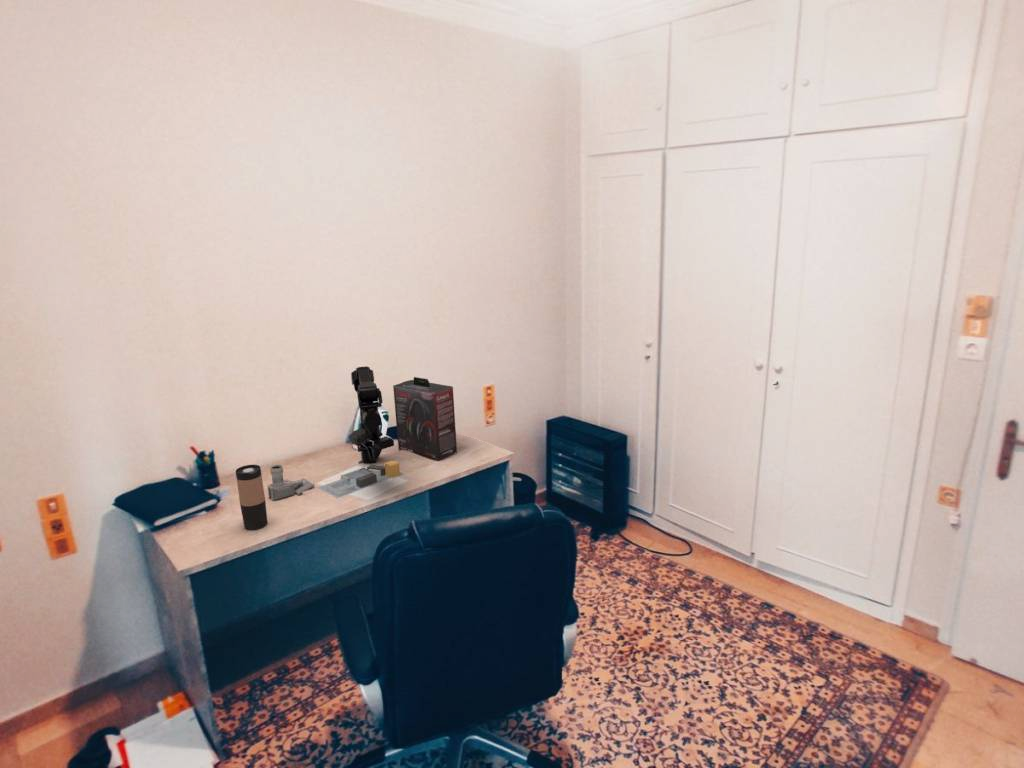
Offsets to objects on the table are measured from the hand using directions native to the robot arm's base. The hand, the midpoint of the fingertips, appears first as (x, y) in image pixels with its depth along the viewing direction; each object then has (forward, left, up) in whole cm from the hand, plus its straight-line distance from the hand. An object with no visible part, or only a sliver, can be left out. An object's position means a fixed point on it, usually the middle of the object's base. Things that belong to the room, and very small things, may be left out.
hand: (374, 460), depth 225 cm
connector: (-6, +11, -11) cm, 17 cm away
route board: (-11, 0, -12) cm, 16 cm away
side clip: (-13, 0, -12) cm, 18 cm away
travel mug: (-8, -42, -12) cm, 44 cm away
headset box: (-18, +38, -12) cm, 44 cm away
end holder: (-9, -9, -11) cm, 17 cm away
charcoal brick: (-6, 0, -11) cm, 13 cm away
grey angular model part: (-23, -22, -12) cm, 34 cm away
